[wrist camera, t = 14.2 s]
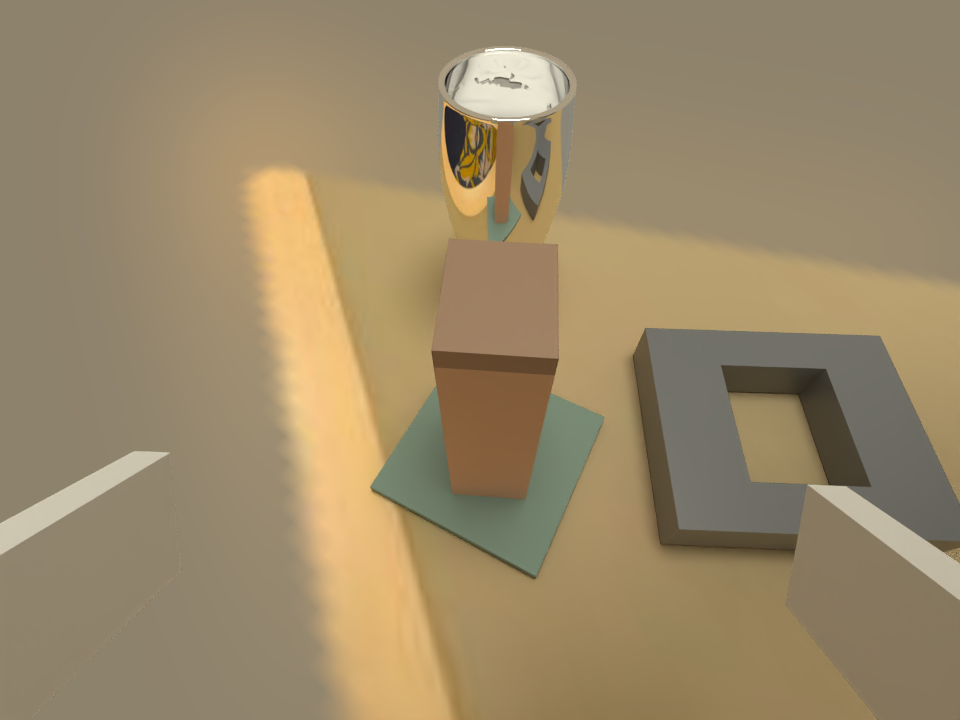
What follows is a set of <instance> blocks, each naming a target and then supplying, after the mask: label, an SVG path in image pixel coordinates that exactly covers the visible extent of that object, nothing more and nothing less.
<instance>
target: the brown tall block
mask: <svg viewBox="0 0 960 720" xmlns="http://www.w3.org/2000/svg"><path fill="white" fill-rule="evenodd" d="M431 351H432V358H433V365H434V372H435V379H436V386H437V392H438V399H439V406H440V413H441V420H442V427H443V434H444V441H445V447H446V454H447V461H448V468H449V475H450V482H451V489H452V494H460V495H473V496H486V497H499V498H512V499H526V495H527V491H528V487H529V482H530V478H531V474H532V470H533V466H534V461H535V457H536V453H537V449H538V444H539V440H540V436H541V432H542V427H543V423H544V419H545V415H546V410H547V406H548V402H549V398H550V393H551V389H552V385H553V381H554V376H555V372H556V368H557V364H558V359H559V336H558V244H540V243H522V242H503V241H485V240H467V239H449V242H448V248H447V255H446V261H445V268H444V274H443V280H442V287H441V293H440V299H439V306H438V312H437V318H436V325H435V331H434V337H433V344H432V350H431Z"/></svg>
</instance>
